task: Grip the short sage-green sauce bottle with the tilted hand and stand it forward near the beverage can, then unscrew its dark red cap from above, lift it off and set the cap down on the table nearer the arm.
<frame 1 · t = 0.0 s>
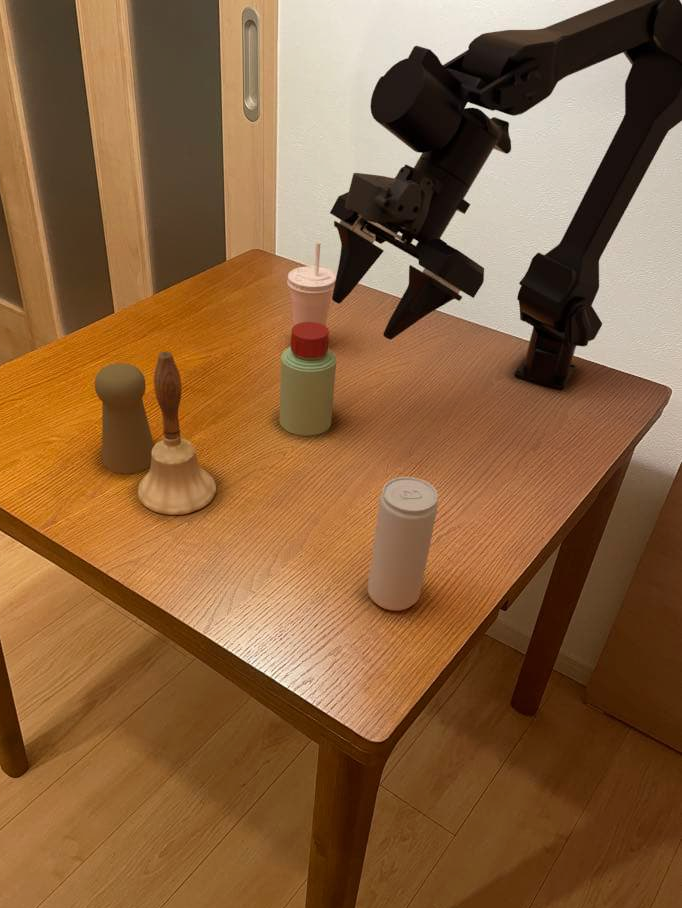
hand: (360, 319, 83), 15 cm above the table, tool tilted 35°, fingers open, 9 cm apart
beverage can: (392, 596, 74), on the table
sauce bottle: (305, 421, 95), on the table
bottle cap: (310, 333, 88), point 11 cm above the table, screwed on, not yet turned
hand bell: (177, 492, 85), on the table
cork: (129, 459, 89), on the table
smoothie: (308, 345, 110), on the table
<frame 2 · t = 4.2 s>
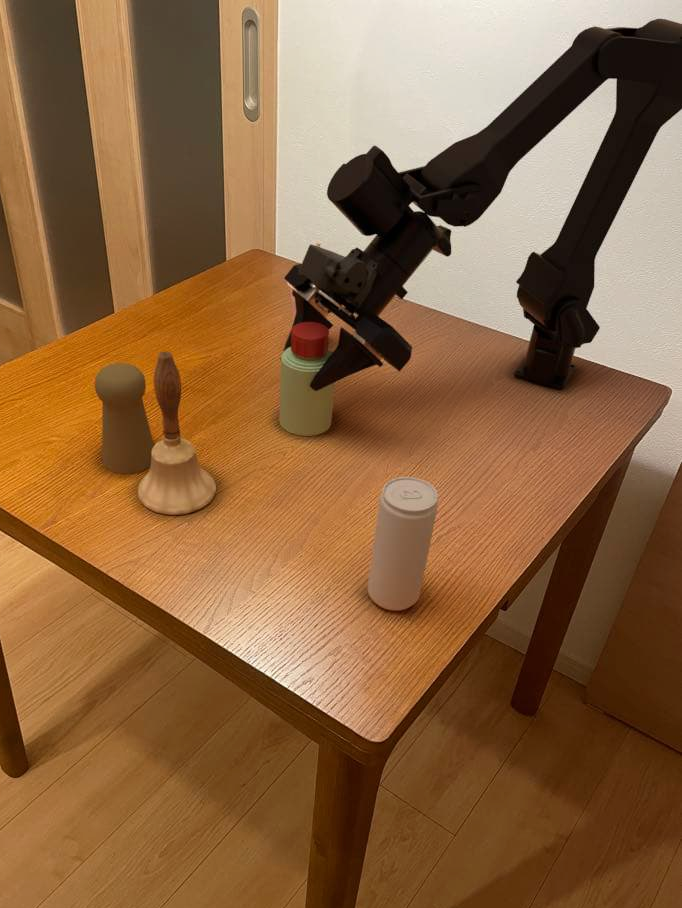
hand: (297, 375, 90), 7 cm above the table, tool tilted 45°, fingers closed on sauce bottle, 6 cm apart
sauce bottle: (305, 421, 95), on the table, touching gripper
everything else where it was.
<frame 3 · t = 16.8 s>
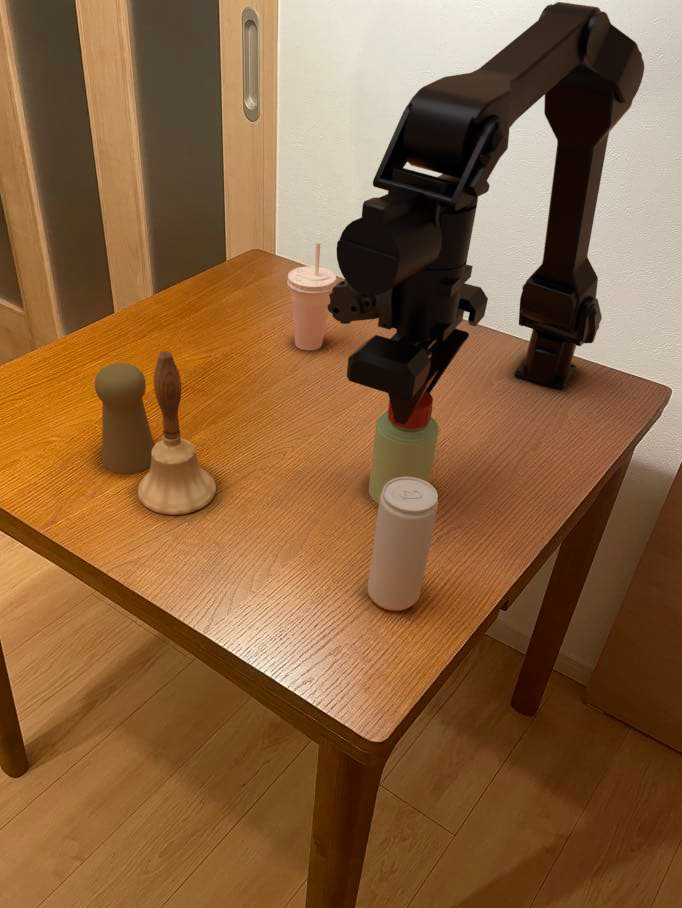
hand: (409, 412, 78), 10 cm above the table, tool pointing down, fingers closed on bottle cap, 4 cm apart
sauce bottle: (397, 492, 85), on the table
bottle cap: (411, 401, 78), point 11 cm above the table, screwed on, not yet turned, touching gripper
everything else where it was.
when the fingers open (2 cm above the table, at t = 42.8 s): bottle cap drops 1 cm, point 2 cm above the table.
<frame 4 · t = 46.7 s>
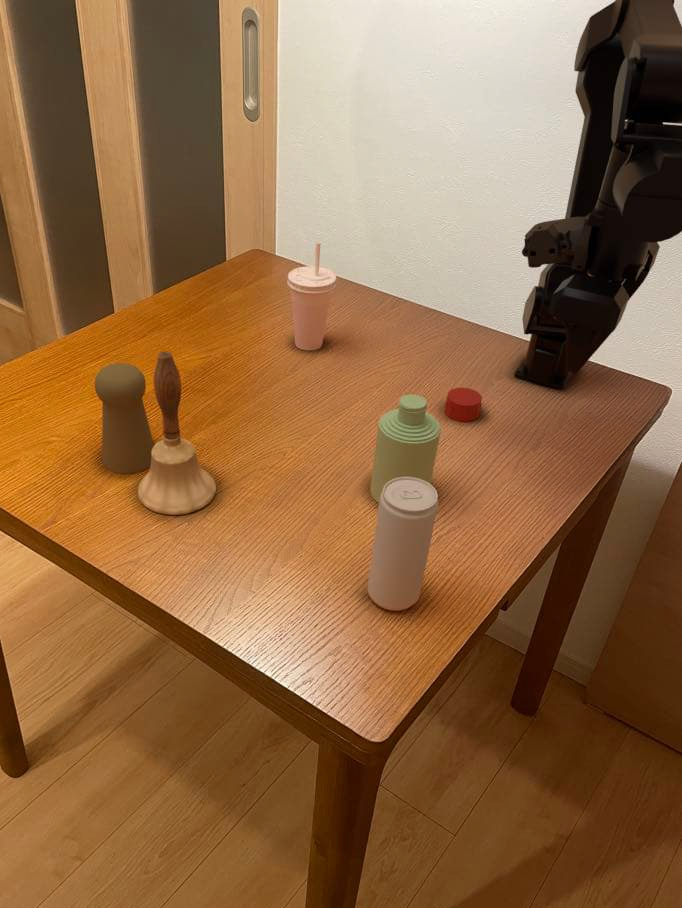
hand: (583, 353, 84), 12 cm above the table, tool pointing down, fingers open, 9 cm apart
bottle cap: (464, 399, 96), point 2 cm above the table, off its thread
everything else where it was.
at the end: sauce bottle inside the target area on the table beside the beverage can (0.5 cm from its centre), on the table; bottle cap inside the target area (0.2 cm from its centre), point 1.9 cm above the table; the gripper is holding nothing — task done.
